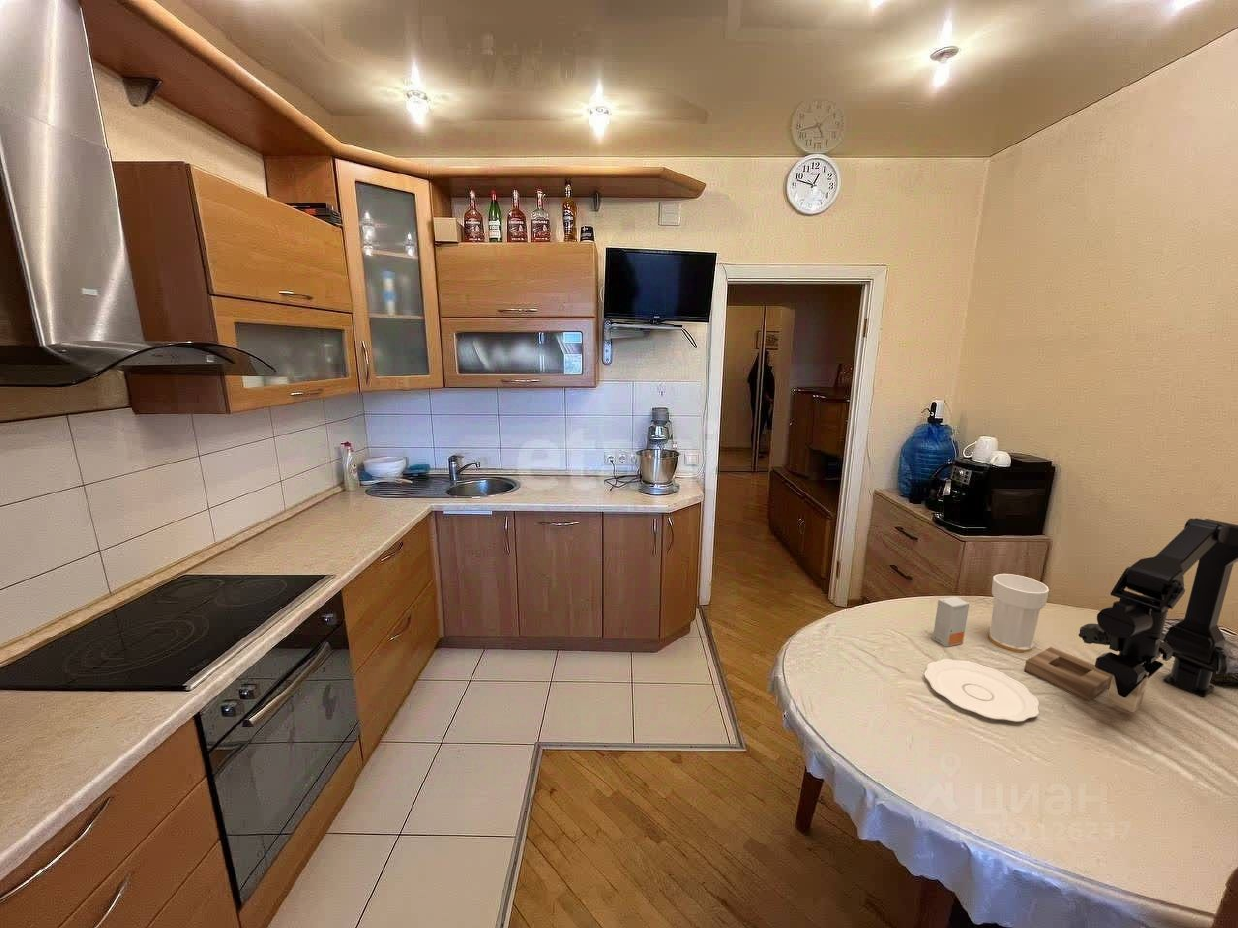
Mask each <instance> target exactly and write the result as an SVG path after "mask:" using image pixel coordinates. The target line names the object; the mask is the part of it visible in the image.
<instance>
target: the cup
mask: <svg viewBox="0 0 1238 928" xmlns="http://www.w3.org/2000/svg"><path fill="white" fill-rule="evenodd" d="M1049 592H1050V590H1049V587H1048V586H1047V585H1046V584H1045V583H1043V582H1041V581H1040V580H1039V581H1038V580H1036V579H1034V578H1031V577H1027V576H1023V575H1018V574H1012V573H1011V574H1010V573H998V574H996V575H993V576H992V587H991V595H992V597H993V598H994V599H993V606H992V612H991V613H992V614H991V623H990V631H989V635H988V638H989V640H990V641H991V642H992V643H993V644H995V645H996V646H998V647H1000V648H1003V649H1005V650H1008V651H1011V652H1014V653H1016V652H1017V653H1030V652H1031V651H1032V650H1033V647H1034V645H1033V641H1034V638H1035V632H1036V629H1037V624H1038V619H1039V615H1040V611H1041V610H1042V609H1043V608H1044V607H1045V606H1046V605H1047V602H1048V596H1049Z"/></svg>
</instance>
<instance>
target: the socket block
mask: <svg viewBox="0 0 1238 928" xmlns="http://www.w3.org/2000/svg"><path fill="white" fill-rule="evenodd" d="M1024 672H1025V673H1028V674H1029V675H1032V676H1034V677H1035V678H1037V679H1039V680H1042V681H1045V682H1046V683H1048V684H1050V685H1052V686H1054V687H1057V688H1059V689H1062V690H1063V691H1065V692H1067V693H1070V694H1071V695H1074V696H1076V697H1078V698H1081V699H1083V700H1085V701H1087V702H1091V701H1092V700H1093V699H1094V698H1096V697H1098V696H1099V695H1100V694H1102V693H1103V692H1105V691H1106V690H1108V689H1110V685H1111V680H1112V676H1113V675H1112V674H1109V673H1107V672H1105V671H1102V670H1100V669H1097V668H1096V667H1095V664H1093V663H1091V662H1088V661H1086V660H1085V659H1084V660H1083V659H1082V658H1079V657H1076V656H1074V655H1071V654H1069V653H1067V652H1064V651H1062V650H1059V649H1057V648H1054V647H1052V646H1050V647H1047V648H1046V649H1044V650H1043V651H1040V652H1039V653H1036V654H1035V655H1033V656H1031V657H1030V658H1028V659H1026V660H1025V665H1024Z"/></svg>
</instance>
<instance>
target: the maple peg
mask: <svg viewBox="0 0 1238 928" xmlns="http://www.w3.org/2000/svg"><path fill="white" fill-rule="evenodd" d="M1145 675H1149V672H1146V671H1145ZM1148 679H1149V678H1148V677H1147V678H1146V679H1145V680H1144V681H1143V682H1142V683H1140V684H1139V685H1138V686H1137V687H1136V688H1135V689H1134V690H1133V691H1132V692H1131V693H1130V694H1129V695H1128V696H1127V697H1125V698H1124V697H1122V696H1120V695H1118V691H1117V687H1116V682H1115V677H1114V675H1113V676H1112V680H1111V685H1110V687H1109V688H1108V689H1109V690H1108V695H1107V697H1106V699H1107V700H1106V701H1107V702H1109V703H1111V704H1113V705H1115V706H1118V707H1119V708H1122V709H1124V710H1125V711H1129V712H1131V713H1134V712H1136V711H1137V710H1138V709H1140V708H1141V707H1142V703H1143V701H1144V700H1143V699H1144V696H1145V692H1146V688H1147V687H1146V686H1147V683H1148Z"/></svg>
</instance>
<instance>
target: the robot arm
mask: <svg viewBox="0 0 1238 928" xmlns="http://www.w3.org/2000/svg"><path fill="white" fill-rule="evenodd" d="M1196 563H1197V568H1196V572H1195V576H1194V579H1193V583H1192V587H1191V591H1190V595H1189V599H1188V602H1187V608H1186V611H1185V613H1184V614H1185V615H1184V618H1183V620H1181V621H1178V622H1177V623H1176V624H1173V625H1172V626H1170V627H1169V628H1168V631H1167V632H1166V633H1164V628H1165V624H1166V621H1167V620H1166V619H1167V615H1168V611H1169V610H1170V609H1171V610H1173V609H1174V607H1175V606H1176V605H1177V604H1178V602H1179V601H1180V599H1182V597H1183V596H1184V594H1185V592H1186V589H1185V582H1184V576H1185V574H1186V573H1187V572H1188V571H1189V570H1190V569H1191V568H1192V567H1193V566H1194V565H1195V564H1196ZM1235 563H1238V524H1234V523H1230V522H1224V521H1218V520H1214V519H1209V518H1205V519H1202V518H1189V519H1187V520H1186V522H1185V523H1184V527H1183V529H1182V530H1181V531H1180V532H1179V533H1178V534H1177V535H1176V536H1175V537H1173V539H1172V540H1171V541H1170V542H1169V543H1168V544H1166V546H1165V547H1163V548H1162V549H1161V551H1159V552H1158V553H1157V554H1156V555H1154V556H1151V557H1150V556H1149V557H1144V558H1140V559H1139V560H1137V561H1136V562H1134V563H1133V564H1132V565H1130V566H1127V567H1126V568H1125V569H1124V571H1122V574H1121V575H1120V577H1119V579H1118V581H1117V583H1116V584H1115V585H1114V587H1113V588H1112V590H1111V592H1110V596H1113V597H1116V598H1118V599H1119V601H1118V600H1117V601H1114V602H1113V603H1112V606H1108V607H1106V608H1103V609H1101V610H1100V611H1098V613H1097V614H1096V621H1097V623H1087V624H1084V625H1083V626H1081V627H1080V629H1079V633H1078V637H1079V638H1081V639H1082V640H1083V643H1085V644H1088V645H1091V644H1096V645H1103V646H1109V648H1108V649H1109V650H1111V651H1114V652H1118V653H1117V654H1116V653H1114V652H1111V651H1109V652H1105V653H1102V654H1100V655H1099V656H1097V657H1096V658H1095V663H1094V665H1095V667H1096V668H1097V669H1100V670H1102V671H1105V672H1107V673H1109V674H1112V675H1114V677H1115V682H1116V687H1117V691H1118V695H1120V696H1122V697H1124V698H1125V697H1127V696H1128V695H1129V694H1130V693H1131V692H1132V691H1133V690H1134V689H1135V688H1136V687H1137V686H1138V685H1139V684H1140V683H1142V682H1143V681H1144V680H1145V679H1146V678H1147V677H1148V679H1149V678H1151V677H1152V676H1153V675H1154V674H1155V673H1156V672H1157V671H1158V670H1160V668H1162V667H1163V666H1164V663H1163V662H1161V661H1158V660H1157V659H1159V658H1161V659H1162V661H1165V662H1169V660H1171V659H1172V657H1173V659H1174V660H1173V663H1172V668H1171V671H1170V673H1169V674H1167V675H1166V676H1165V677H1163V680H1162V681H1163V682H1165V683H1168V684H1170V685H1173V686H1175V687H1177V688H1179V689H1182V690H1184V691H1187V692H1189V693H1192V694H1195V695H1197V696H1199V697H1200V696H1201V697H1203V698H1205V697H1207V696H1208V695H1209V694H1210V693H1212V692H1213V691H1214V689H1215V686H1213V685H1211V684H1210V683H1211V679H1212V676H1213V674H1215V675H1218V674H1222V675H1227V674H1228V671H1229V668H1230V663H1231V659H1230V656H1229V654H1228V651H1227V649H1225V645H1226V637H1225V635H1224V633H1222V631H1221V629H1220V628H1219V626H1218V623H1219V619H1220V617H1221V616H1220V615H1221V611H1222V608H1223V604H1224V601H1225V596H1226V592H1227V589H1228V585H1229V582H1230V578H1231V574H1232V571H1233V568H1234V564H1235ZM1126 588H1127V589H1128V590H1127V589H1126ZM1125 589H1126V590H1125ZM1137 593H1139V594H1137ZM1161 655H1162V657H1161ZM1145 671H1146V672H1149V675H1145Z"/></svg>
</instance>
